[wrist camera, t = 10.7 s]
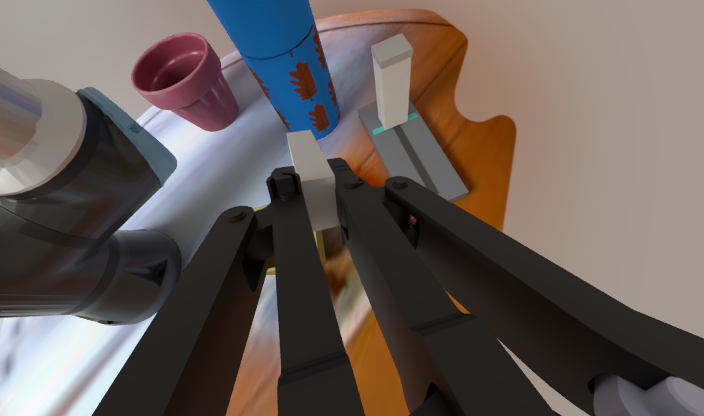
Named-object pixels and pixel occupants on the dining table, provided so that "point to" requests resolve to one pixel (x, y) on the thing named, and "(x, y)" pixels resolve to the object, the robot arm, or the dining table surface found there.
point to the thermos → (284, 59)
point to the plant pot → (186, 81)
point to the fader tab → (392, 79)
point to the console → (413, 153)
